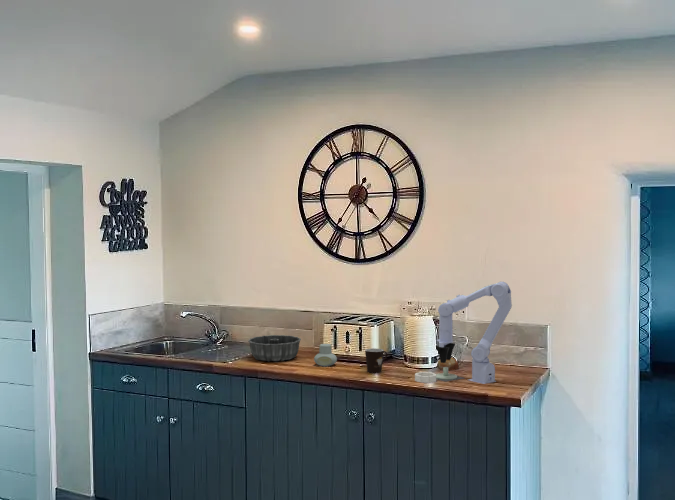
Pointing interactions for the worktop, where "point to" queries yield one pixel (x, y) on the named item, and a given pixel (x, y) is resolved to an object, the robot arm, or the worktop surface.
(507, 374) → the worktop surface
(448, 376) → the lid
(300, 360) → the worktop surface
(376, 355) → the coffee mug
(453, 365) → the bread roll
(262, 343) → the bundt pan
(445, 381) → the mat
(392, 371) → the worktop surface
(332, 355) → the air freshener
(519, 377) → the worktop surface
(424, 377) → the ramekin
